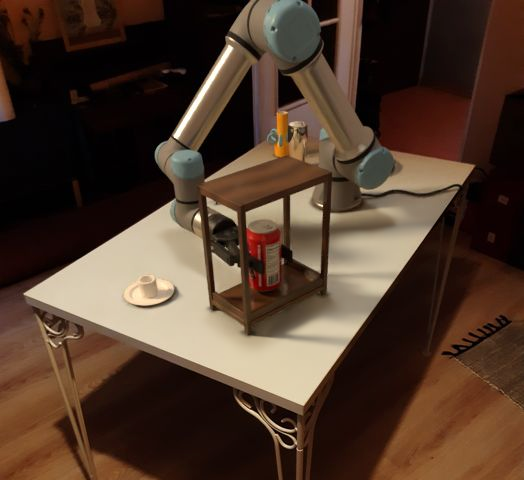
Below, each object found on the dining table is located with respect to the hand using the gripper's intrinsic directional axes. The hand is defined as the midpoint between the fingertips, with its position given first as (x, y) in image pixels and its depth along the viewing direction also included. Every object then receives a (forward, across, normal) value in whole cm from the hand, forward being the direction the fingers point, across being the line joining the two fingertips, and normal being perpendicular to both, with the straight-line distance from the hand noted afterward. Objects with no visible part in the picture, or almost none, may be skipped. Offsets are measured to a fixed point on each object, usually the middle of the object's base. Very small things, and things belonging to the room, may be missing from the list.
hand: (277, 262), depth 123 cm
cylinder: (-75, -68, -12) cm, 102 cm away
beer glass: (-62, -63, -12) cm, 89 cm away
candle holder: (-25, +19, -12) cm, 34 cm away
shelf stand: (-3, 0, -12) cm, 12 cm away
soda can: (-5, 0, -8) cm, 10 cm away
